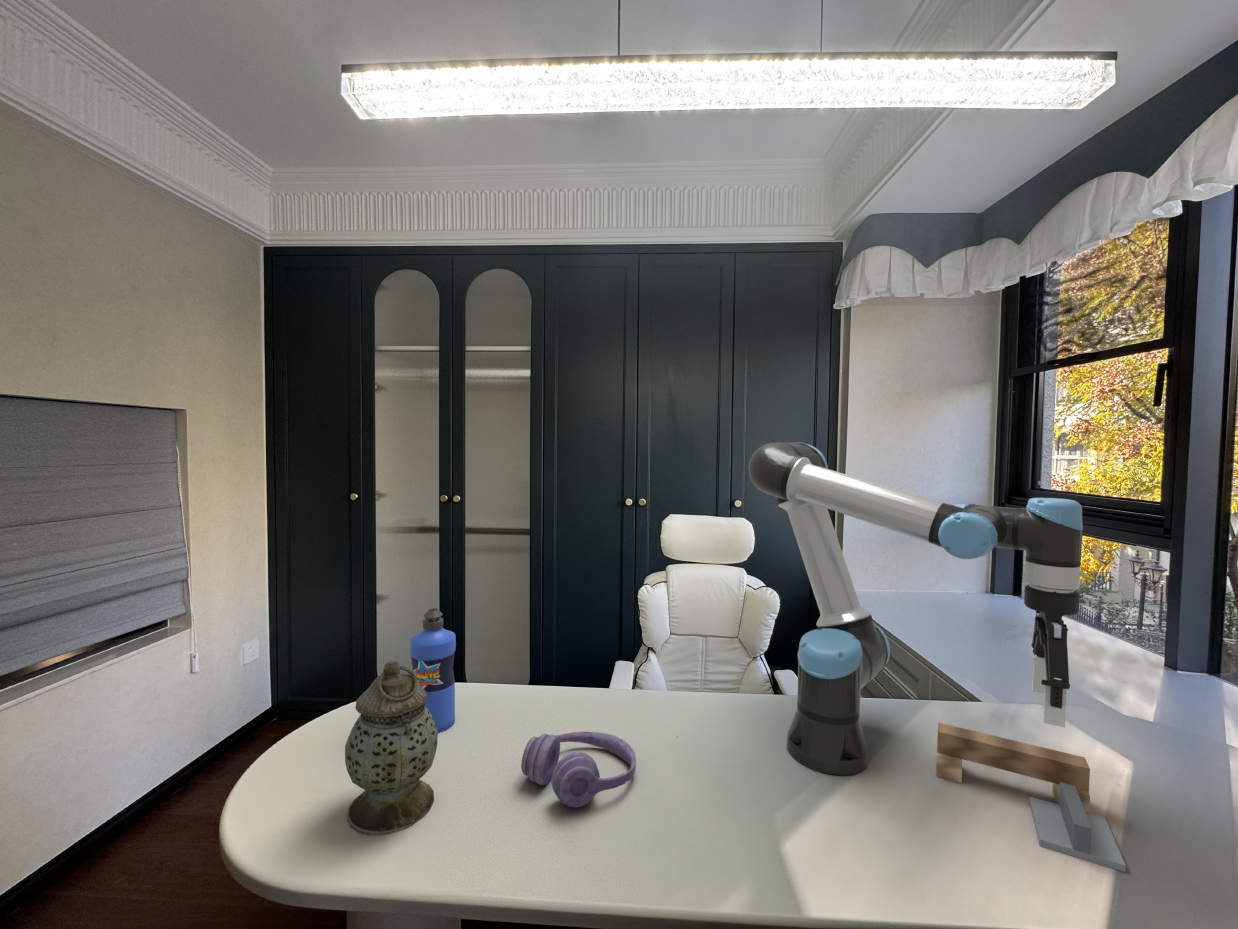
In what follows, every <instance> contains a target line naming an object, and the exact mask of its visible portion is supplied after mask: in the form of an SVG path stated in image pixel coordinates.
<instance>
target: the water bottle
mask: <svg viewBox="0 0 1238 929" xmlns="http://www.w3.org/2000/svg"><path fill="white" fill-rule="evenodd" d="M442 616H443V613H442V612H441V611H440V610H439V609H438V608H430V609H428V610H427V611H426V612H425V613H424V614H423V618H424V619H423V620H422V630H421V631H420V632H418V633H416V634H414V635H412V636H411V637H410V638H409V656H410V659H411V668H412V669H411V670H412V671H413V673H414V674H415V675H416V677H417V681H418V684H419V685H420V686H421V687H422V688H423V689H424V690H425V691H426V692H427V700H426V702H425V706H426V708H427V709H428V710H429V711H430V713H431V715H432V717H433V719H434V722H435V724H436V727H437V730H438V733H437V734H439V733H440V734H441V733H443V732H445V731H447V730H449V729H451V728H452V726H454V724H455V722H456V721H455V720H456V706H455V705H456V682H455V681H456V680H455V675H454V668H453V667H454V659H455V652H456V646H457V642H456V641H457V640H456V639H457V638H456V637H457V636H456V633H455V632H453V631H452V630H447V629H445V628H444V618H443V617H442Z"/></svg>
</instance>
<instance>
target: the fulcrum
mask: <svg viewBox="0 0 1238 929" xmlns="http://www.w3.org/2000/svg"><path fill="white" fill-rule="evenodd" d="M1028 801H1029V807H1030V811H1031V815H1032V819H1033V824H1034V827H1035V828H1034V829H1035V832H1036V836H1037V840H1038V845H1039V846H1040V847H1043V848H1046V849H1049V850H1053V851H1056V852H1059V853H1063V854H1065V855H1069V856H1072V857H1076V858H1078V859H1081V860H1085V861H1088V862H1090V863H1095V864H1098V865H1101V866H1104V867H1107V868H1110V869H1114V870H1117V871H1120V872H1123V873H1126V870H1127V869H1126V868H1127V865H1126V863H1125V861H1124V859H1123V856H1122V853H1121V852H1120V849H1119V846H1118V844H1117V842H1116V840H1115V838H1114V835H1113V832H1112V830H1111V827H1110V826H1109V824H1108V821H1107V819H1106V817H1104V816H1101V815H1097V814H1093V813H1090V812H1089V813H1087V812H1085V810H1084V808H1083V805H1082V803H1081V800H1080V797H1079V795H1078V792H1077V790H1076V787H1075V786H1074V785H1070V784H1066V783H1063V782H1060V790H1059V805H1058V804H1056V802H1055V803H1054V802H1050V801H1046V800H1044V799H1040V798H1037V797H1032V796H1029V798H1028Z"/></svg>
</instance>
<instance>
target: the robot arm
mask: <svg viewBox="0 0 1238 929" xmlns="http://www.w3.org/2000/svg"><path fill="white" fill-rule="evenodd" d="M828 467H829V466H828V463H827V459H826V457H825V456H824V454H823V453H822V451H821V450H819V449H818V448H817V447H815V446H813V445H810V444H808V443H804V442H799V441H792V442H769V443H767V444H764V445H762V446H760V447H758V448H757V450H755V451H754V453H753V454H752V456H750V459H749V462H748V475H749V476H748V477H749V478H750V481H751V483H752V484H753V486H754V487H755V488H756V489H757V490H758V491H760V492H762V493H764V494H766V495H768V496H773V497H775V500H776V502H777V505H778V507H779V508H781V509H783V510H785V511H786V512H787V515H788V518H789V521H790V524H791V527H792V530H793V534H794V536H795V540H796V543H797V547H798V549H799V552H800V555H801V557H802V561H803V564H804V567H805V570H806V573H807V576H808V579H809V583H810V587H811V589H812V592H813V596H814V598H815V600H816V604H817V607H818V610H819V615H820V616H819V617H818V618H817V619H818V620H817V622H816V627H817V628H816V629H812V630H810V631H808V632H806V633H805V634H803V635H802V637H801V638H800V641H799V646H798V650H797V665H798V666H797V702H796V703H797V704H796V711H795V714H794V716H793V718H792V721H791V724H790V726H789V729H788V731H787V737H786V738H787V739H786V740H787V741H786V748H787V750H788V752H789V754H790V755H791V756H792V757H793V759H794V760H796V761H798V762H799V763H800V764H802V765H804V766H805V767H807V768H810V769H812V770H814V771H817V772H821V773H823V774H824V773H825V774H830V775H839V776H840V775H841V776H848V775H854V774H857V773H861V772H862V771H864V770H865V769H866V767H867V766H868V762H869V750H868V749H869V748H868V745H867V742H866V739H865V738H866V737H865V735H864V732H863V728H862V724H861V721H860V712H861V710H860V709H861V691H862V689H863V688H864V687H865V686H866V685H868V684H869V683H870V682H871V681H872V680H873V679H874V678H877V677H879V675H881V673H883V671H884V669H885V668H886V666H887V664H888V663H889V660H890V656H891V645H890V641H889V639H888V637H887V635H886V634H885V632H884V630H883V629H882V628H881V627H880V626H878V625H876V624H875V622H874V619H873V617H872V613H871V611H869V610H868V609H866V608H865V607H862V606H861V603H860V601H859V598H858V594H857V592H856V589H855V586H854V582H853V580H852V577H851V574H850V571H849V568H848V565H847V563H846V560H845V557H844V553H843V551H842V548H841V545H840V542H839V539H838V536H837V534H836V530H835V527H834V525H833V522H832V518H831V516H830V512H829V510H830V511H834V512H837V513H839V514H843V515H846V516H847V517H851V518H855V519H858V520H860V521H863V522H867V523H868V524H869V523H870V524H872V525H874V526H878V527H881V528H885V529H887V530H891V531H893V532H896V533H900V534H902V535H904V536H905V535H906V536H908V537H910V538H914V539H917V540H919V541H923V542H926V543H929V544H933V545H934V546H937V547H941V548H942V549H944V551H945V552H947V553H948V554H950V556H953V557H954V558H958V559H963V560H974V559H978V558H981V557H984V556H986V555H988V554H989V553H990V552H992V551H993V549H994V548H998V549H1008V550H1009V549H1010V550H1015V551H1016V550H1017V551H1020V550H1021V551H1025V555H1026V556H1025V562H1024V582H1025V583H1027V584H1026V585H1025V586H1024V600H1023V604H1024V605H1025V607H1026V608H1029V609H1030V610H1033V611H1034V612H1035V616H1034V626H1033V635H1032V642H1031V647H1032V648H1031V649H1032V653H1033V656H1032V679H1031V680H1032V681H1031V682H1032V683H1031V691H1032V692H1034V693H1040V694H1043V718H1042V720H1043V723H1044V724H1047V725H1052V726H1055V727H1056V726H1057V727H1061V728H1066V713H1067V712H1066V711H1067V710H1066V708H1067V690H1070V688H1071V684H1070V674H1069V672H1070V671H1069V670H1070V669H1069V657H1068V656H1069V654H1068V632H1069V629H1068V626H1067V624H1065V622H1064V620H1063V616H1074V615H1075V616H1076V615H1077V614H1078V613H1079V612H1080V600H1081V594H1080V593H1079V592H1078V591H1077V590H1078V589H1080V585H1081V584H1080V583H1081V579H1080V577H1082V578H1083V577H1085V574H1086V573H1085V572H1084V571H1083V570H1081V564H1082V561H1081V560H1082V550H1083V549H1082V548H1083V547H1082V545H1083V531H1084V526H1083V508H1082V505H1081V503H1079V502H1078V501H1076V500H1073V499H1067V498H1056V497H1032V498H1029V499H1028V501H1027V505H1025V506H1026V507H1006V506H1005V507H1004V506H993V505H981V504H975V503H969V504H967V503H966V504H963V503H961V504H959V503H957V504H956V503H955V504H953V505H952V504H949V503H945V502H943V501H939V500H936V499H932V498H929V497H926V496H923V495H919V494H915V493H912V492H909V491H905V490H902V489H899V488H894V487H892V486H887V485H884V484H880V483H876V482H874V481H870V480H867V479H864V478H859V477H856V476H853V475H850V474H846V473H842V472H839V471H836V470H833V469H829V468H828Z"/></svg>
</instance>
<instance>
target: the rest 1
mask: <svg viewBox="0 0 1238 929" xmlns="http://www.w3.org/2000/svg"><path fill="white" fill-rule="evenodd" d="M935 771H936V772H935V773H936V775H935V776H936V777H939V778H943V779H946V780H950V781H952V782H956V783H959V784H962V781H963V780H962V779H963V778H962V777H963V759H960V758H956V757H953V756H949V755H945V754H941V753H937V752H936V770H935Z"/></svg>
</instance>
